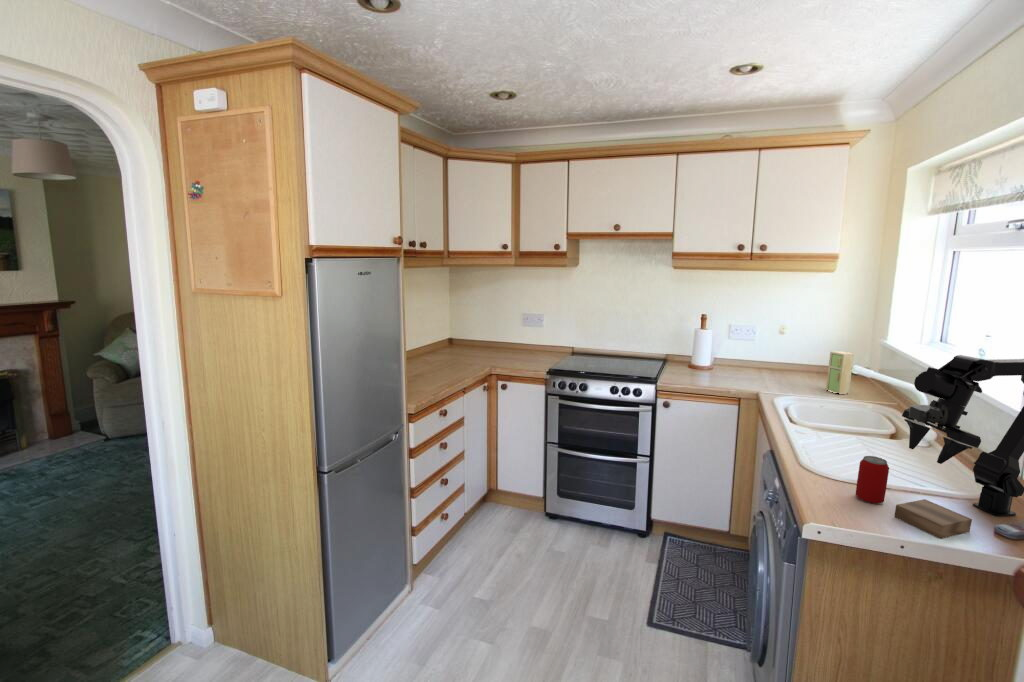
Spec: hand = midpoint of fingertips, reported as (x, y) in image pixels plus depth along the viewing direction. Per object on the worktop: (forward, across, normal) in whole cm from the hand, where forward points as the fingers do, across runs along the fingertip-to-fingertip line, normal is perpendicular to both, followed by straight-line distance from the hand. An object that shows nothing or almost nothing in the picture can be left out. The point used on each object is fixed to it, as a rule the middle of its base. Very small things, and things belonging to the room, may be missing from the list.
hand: (924, 455), depth 137 cm
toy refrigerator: (+2, -123, +63) cm, 138 cm away
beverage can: (+18, -5, -3) cm, 19 cm away
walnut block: (+15, +8, +3) cm, 17 cm away
